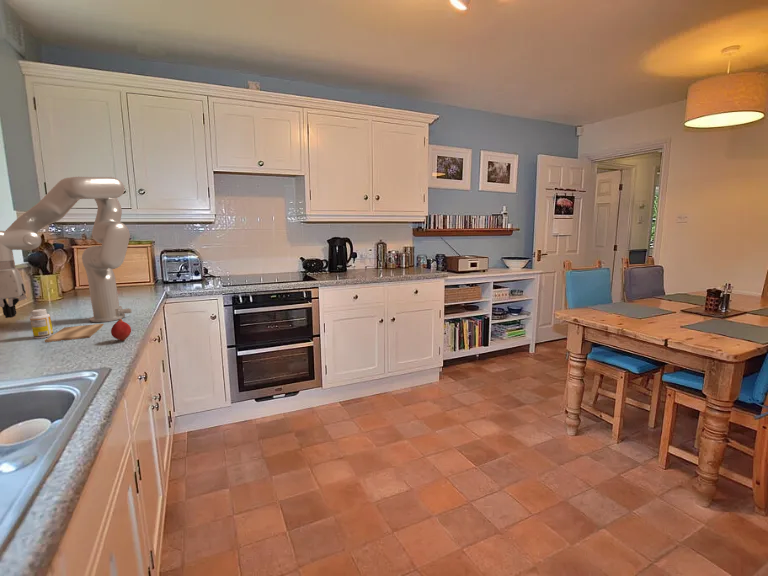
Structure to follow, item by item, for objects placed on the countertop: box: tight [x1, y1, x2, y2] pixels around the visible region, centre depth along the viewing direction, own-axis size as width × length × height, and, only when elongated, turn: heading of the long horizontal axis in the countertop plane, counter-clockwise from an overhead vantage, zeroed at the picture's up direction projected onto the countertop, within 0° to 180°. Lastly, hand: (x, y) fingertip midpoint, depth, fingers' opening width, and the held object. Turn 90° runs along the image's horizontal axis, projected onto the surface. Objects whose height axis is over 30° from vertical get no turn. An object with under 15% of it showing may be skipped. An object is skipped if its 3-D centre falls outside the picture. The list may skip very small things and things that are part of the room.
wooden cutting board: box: [44, 323, 104, 343], centre depth 147 cm, size 13×18×1 cm
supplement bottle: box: [29, 308, 54, 339], centre depth 143 cm, size 6×6×10 cm
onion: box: [110, 318, 132, 342], centre depth 136 cm, size 6×6×8 cm
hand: (10, 316), depth 139 cm, fingers closed
